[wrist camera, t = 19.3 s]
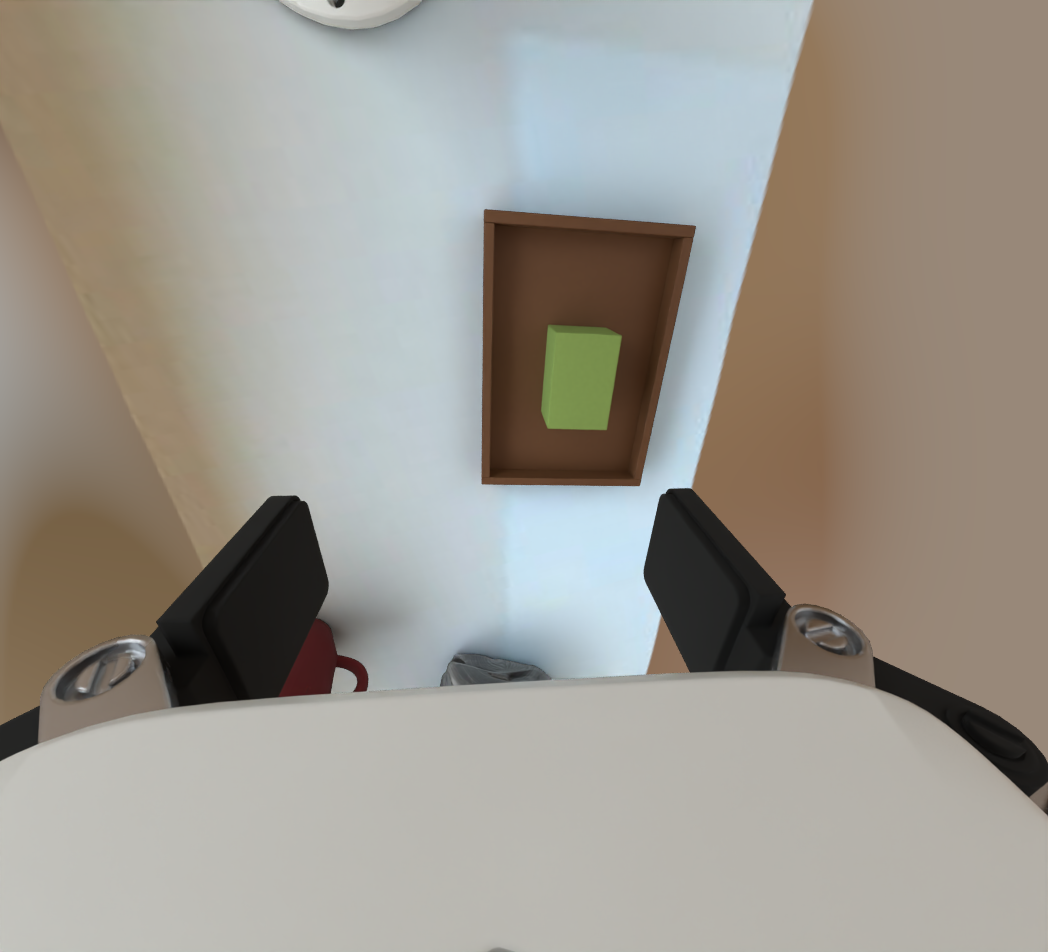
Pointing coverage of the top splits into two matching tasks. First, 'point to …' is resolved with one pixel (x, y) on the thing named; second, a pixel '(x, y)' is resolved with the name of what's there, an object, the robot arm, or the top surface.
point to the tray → (574, 300)
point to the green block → (579, 376)
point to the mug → (320, 665)
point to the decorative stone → (488, 671)
